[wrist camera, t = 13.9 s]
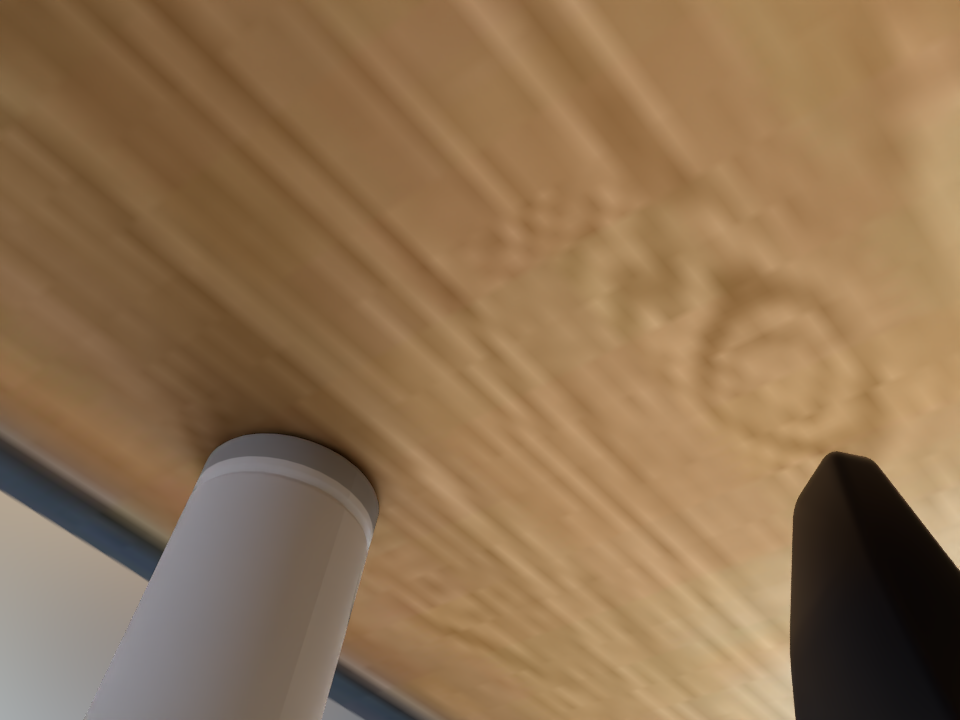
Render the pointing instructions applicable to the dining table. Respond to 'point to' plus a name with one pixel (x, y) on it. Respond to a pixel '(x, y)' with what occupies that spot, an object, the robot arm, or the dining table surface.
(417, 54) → the dining table surface
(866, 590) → the robot arm
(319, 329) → the dining table surface
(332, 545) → the travel mug
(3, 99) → the dining table surface
